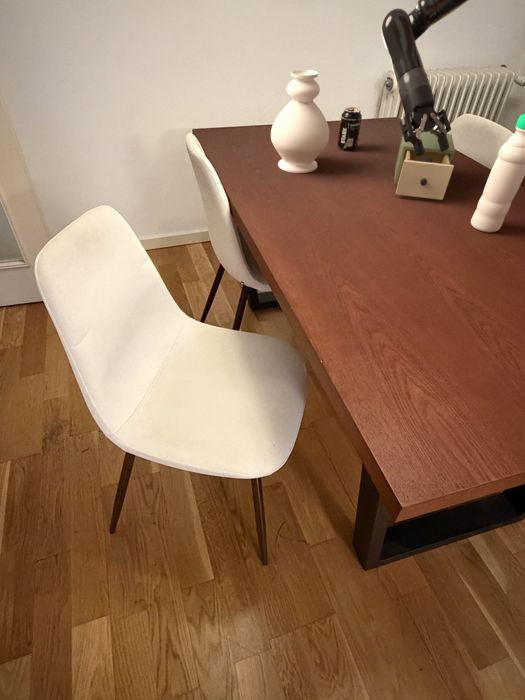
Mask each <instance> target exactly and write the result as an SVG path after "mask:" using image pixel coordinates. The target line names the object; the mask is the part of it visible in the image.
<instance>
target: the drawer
mask: <svg viewBox="0 0 525 700" xmlns="http://www.w3.org/2000/svg"><path fill="white" fill-rule="evenodd" d="M423 157H427V158H431V159H432V160H433V162H432V163H430V162H421V161H419V160H420V158H423ZM449 164H450V163H449V157H448V154H446V153H436V152H426V151H425V153H424V154H423V155H422V156H420V157H417V155H416V153H415V150H406V153H405V157H404V161H403V165H402V169H401V173H400V178H399V182H398V185H396V190H395V195H399V196H406V197H415V198H424V199H432V200H441V201H443V200H444V197H445V194H446V192H447V188H448V186H449V182H450V180H451V176H452V173H453V171H454V167H455V166H454V164H451V165H449Z"/></svg>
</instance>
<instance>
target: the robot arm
mask: <svg viewBox="0 0 525 700" xmlns="http://www.w3.org/2000/svg"><path fill="white" fill-rule="evenodd" d="M468 1H469V0H417V3H416V6H415V7H414V9H412V11H410V12H409V13H408V12H407V10H404V9H403V8H393V9H391V10H390V11H389V12H387V14H386V15H385V17H384V18H383V21H382V23H381V36H382V39H383V44H384V46H385V48H386V50H387V52H388V54H389V57H390V61H391V68H392V72H393V75H394V78H395V81H396V82H395V83H396V86H397V91H398V95H399V98H400V102H401V105H402V108H403V111H404V116H403V117H402V118H401V119H400V120H399V125H400V128H401V133H402V136H403V137H404V141H405V142H411V144H413V147H414V150H415V153H416V155H417V157H420V156H422V155H423V154H424V153H425V150H424V146H423V143H422V140H421V139H420V137H421V133H423V132H430V133H431V134H434V135H435V136H436V137H437V138H438V139H437V140H438V143H439V147H440V150H441V152H444V151H446V150H447V149H448V148H449V143H448V140H447V136H446V134H449V132H451V131H452V127H451V126H452V125H451V124H450V122H449V118H448V115H447V112H446V110H445V109H444V108H442V109H441V110H439V111H436V109H435V103H436V100H435V96H434V93H433V90H432V86H431V83H430V79H429V77H428V74H427V72H426V70H425V67H424V63H423V60H422V57H421V54H420V52H419V49H418V46H417V42H416V41H417V40H418V39H419V38H420V37H422V36H423V35H424V34H425V33H426V31H428V29H429V28H431V27H432V26H433V25H435V24H437V23H439V22H440V21H441V20H443V19H445V18H446V17H447V16H449V15H450V14H452V13H454V12H455V11H456V10H458V9H459V8H460V7H462V6H463V5H464V4H466V3H467V2H468ZM408 133H409V135H408Z"/></svg>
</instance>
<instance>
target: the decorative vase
mask: <svg viewBox="0 0 525 700" xmlns="http://www.w3.org/2000/svg"><path fill="white" fill-rule="evenodd" d="M290 76H291V78H293V79H292V80H290V81H289V82H288V84H287V86H286V93H287V96H289V98H290V99H291V100H290V101H289V102H288V103H287V104H286V105H285V106H284V107H283V108H282V110H281V111H280V112H278V114H277V116H276V118H275V119H274V121H273V124H272V126H271V130H270V140H271V144H272V146H273V148H274V149H275V151H276V152H277V153H278V156H280V158H281V159H280V160H279V161H278V163H277V167H278V168H279V169H280V170H282V171H283V172H286V173H293V174H307V173H312V172H314V171H316V170H317V168H318V162H317V161H316V159H317V158H318V156H319V155H320V154H321V153H322V152H323V151H324V150H325V148H326V147H327V145H328V143H329V141H330V127H329V124H328V121H327V119H326V117H325V115H324V113H323V112H322V110H321V109H320V107H319V106H318V105H317V103H316V102H315V101H314V100H315V99H316V98H317V97H318V96H319V94H320V92H321V87H320V85H319V83H318V81H316V80H315V79H316V78H317V77H318V76H319V72H318V71H316V70H312V69H295V70H290Z"/></svg>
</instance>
